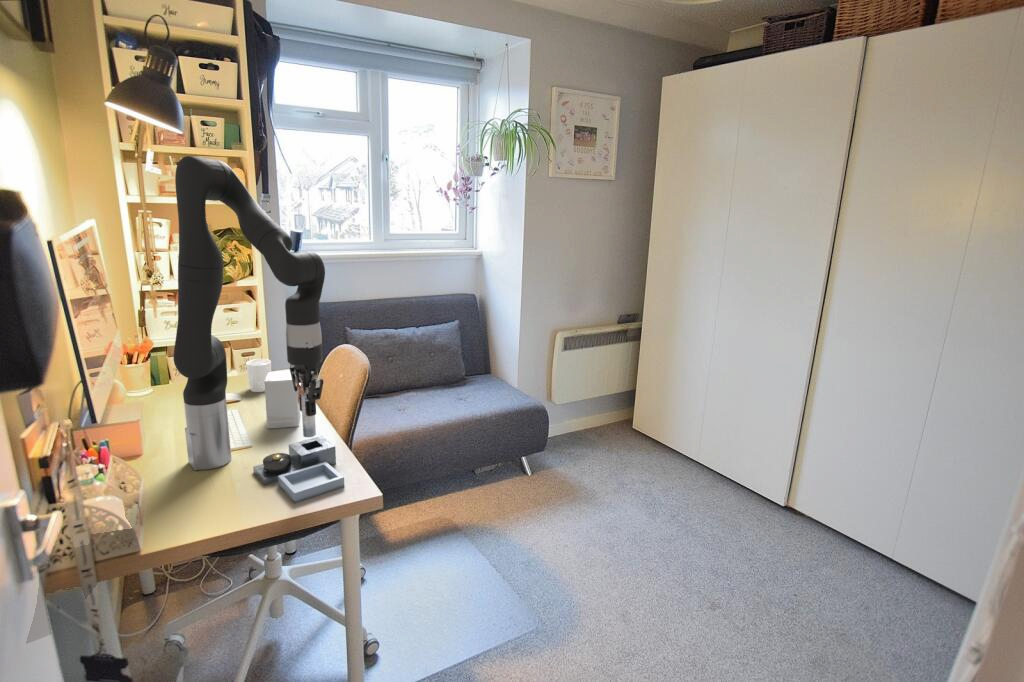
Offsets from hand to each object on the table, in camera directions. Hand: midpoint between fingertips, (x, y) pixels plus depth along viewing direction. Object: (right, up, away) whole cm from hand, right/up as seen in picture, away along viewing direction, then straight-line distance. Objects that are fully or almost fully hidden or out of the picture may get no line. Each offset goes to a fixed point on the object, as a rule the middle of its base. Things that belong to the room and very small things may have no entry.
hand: (308, 412), depth 128 cm
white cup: (-41, 0, +66) cm, 77 cm away
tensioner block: (-8, -16, +13) cm, 22 cm away
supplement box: (-22, -8, +40) cm, 46 cm away
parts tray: (-1, -18, +5) cm, 19 cm away
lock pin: (0, -5, +2) cm, 6 cm away
